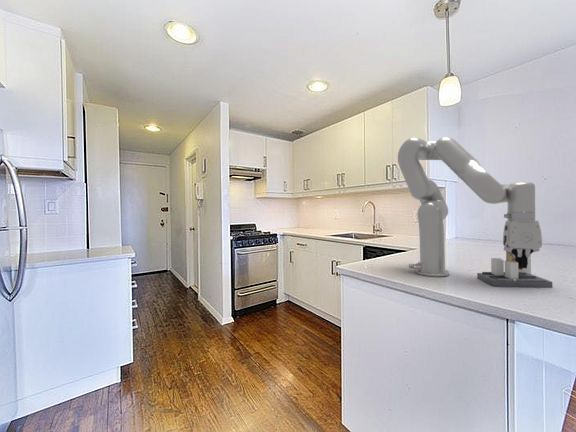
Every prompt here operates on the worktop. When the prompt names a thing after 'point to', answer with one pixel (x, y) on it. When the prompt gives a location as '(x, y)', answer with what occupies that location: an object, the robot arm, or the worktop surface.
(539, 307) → the worktop surface
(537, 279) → the dark grey tray
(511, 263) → the front fader
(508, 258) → the milk bottle
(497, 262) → the white rectangular block
